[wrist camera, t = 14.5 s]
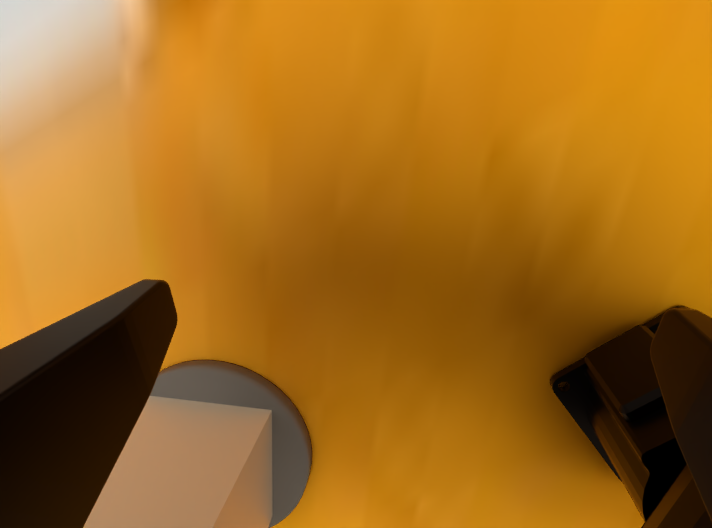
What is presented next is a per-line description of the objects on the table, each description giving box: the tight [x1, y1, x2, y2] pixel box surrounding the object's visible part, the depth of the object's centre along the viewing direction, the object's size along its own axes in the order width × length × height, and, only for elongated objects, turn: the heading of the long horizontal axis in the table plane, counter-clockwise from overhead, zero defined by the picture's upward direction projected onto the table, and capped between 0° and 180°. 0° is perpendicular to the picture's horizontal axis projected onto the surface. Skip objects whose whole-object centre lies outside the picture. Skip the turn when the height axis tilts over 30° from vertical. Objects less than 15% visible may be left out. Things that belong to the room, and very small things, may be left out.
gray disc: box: [150, 360, 312, 528], centre depth 25 cm, size 10×10×1 cm
